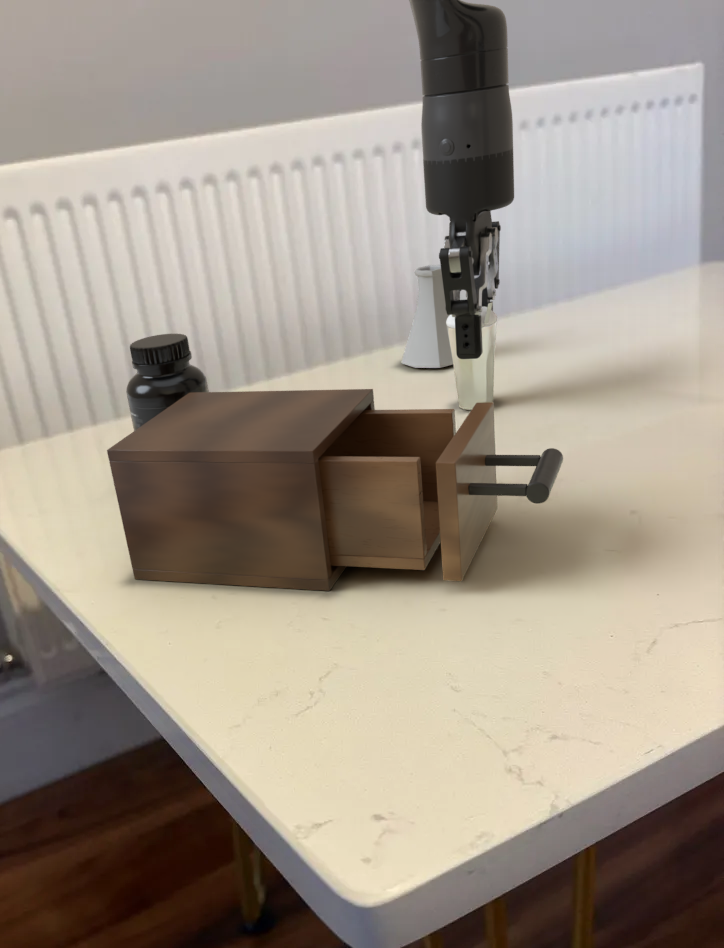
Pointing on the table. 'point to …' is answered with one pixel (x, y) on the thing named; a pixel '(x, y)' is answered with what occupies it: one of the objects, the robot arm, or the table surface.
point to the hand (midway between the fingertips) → (475, 349)
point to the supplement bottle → (161, 376)
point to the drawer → (419, 488)
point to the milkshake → (475, 363)
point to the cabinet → (233, 487)
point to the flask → (429, 323)
